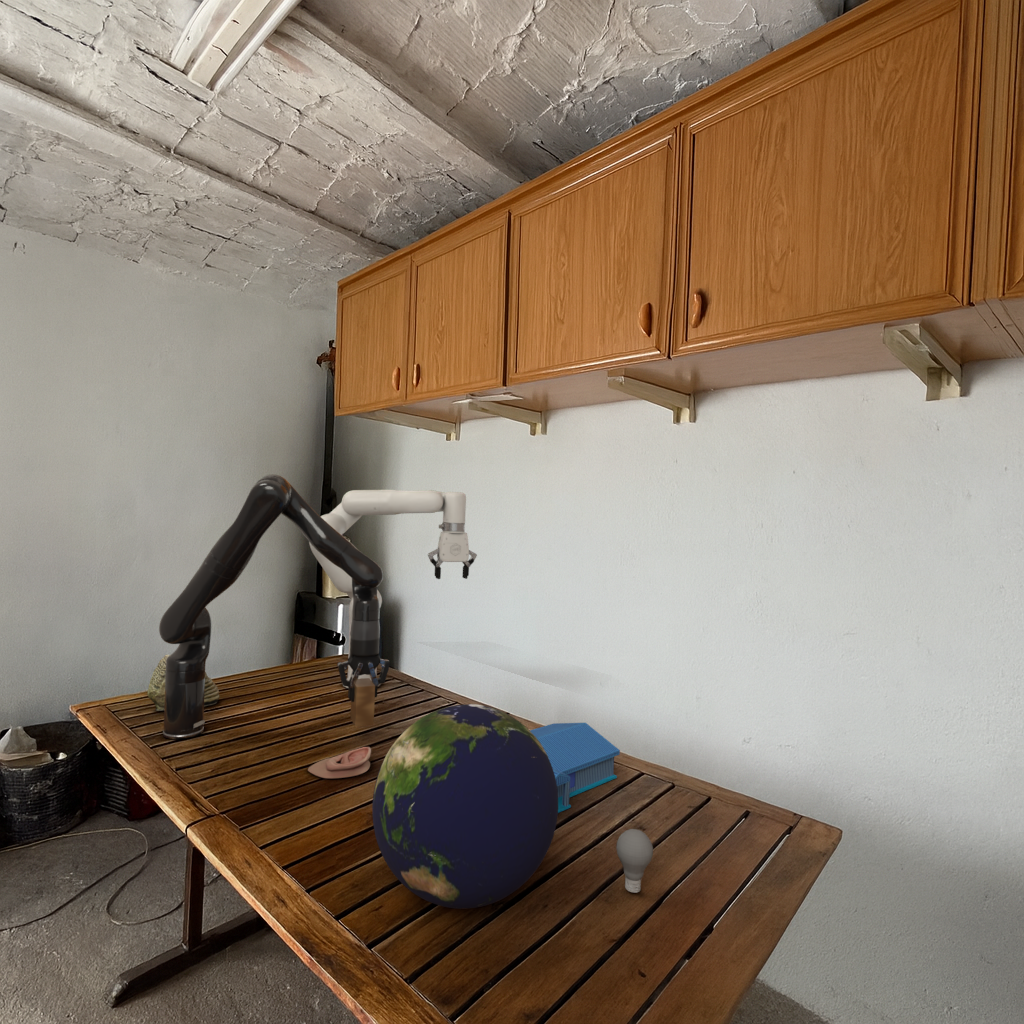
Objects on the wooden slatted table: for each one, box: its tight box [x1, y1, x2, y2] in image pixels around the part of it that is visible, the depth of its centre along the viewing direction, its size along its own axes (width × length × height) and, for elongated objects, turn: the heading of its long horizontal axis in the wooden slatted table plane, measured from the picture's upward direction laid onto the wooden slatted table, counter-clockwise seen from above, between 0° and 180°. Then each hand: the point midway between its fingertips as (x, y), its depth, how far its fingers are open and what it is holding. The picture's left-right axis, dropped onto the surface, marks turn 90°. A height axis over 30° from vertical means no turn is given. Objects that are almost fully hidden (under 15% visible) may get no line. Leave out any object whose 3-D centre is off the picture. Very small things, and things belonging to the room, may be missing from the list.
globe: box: [371, 703, 559, 910], centre depth 103 cm, size 30×30×30 cm
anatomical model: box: [307, 746, 372, 779], centre depth 147 cm, size 13×4×12 cm
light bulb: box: [615, 828, 654, 894], centre depth 106 cm, size 6×6×10 cm
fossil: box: [147, 654, 221, 712], centre depth 185 cm, size 9×18×15 cm, turn 132°
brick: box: [349, 678, 376, 728], centre depth 168 cm, size 5×7×10 cm, turn 24°
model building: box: [529, 722, 621, 814], centre depth 143 cm, size 39×24×10 cm, turn 132°
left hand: (362, 699), depth 168 cm, fingers closed on brick, 4 cm apart
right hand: (451, 578), depth 216 cm, fingers open, 9 cm apart
